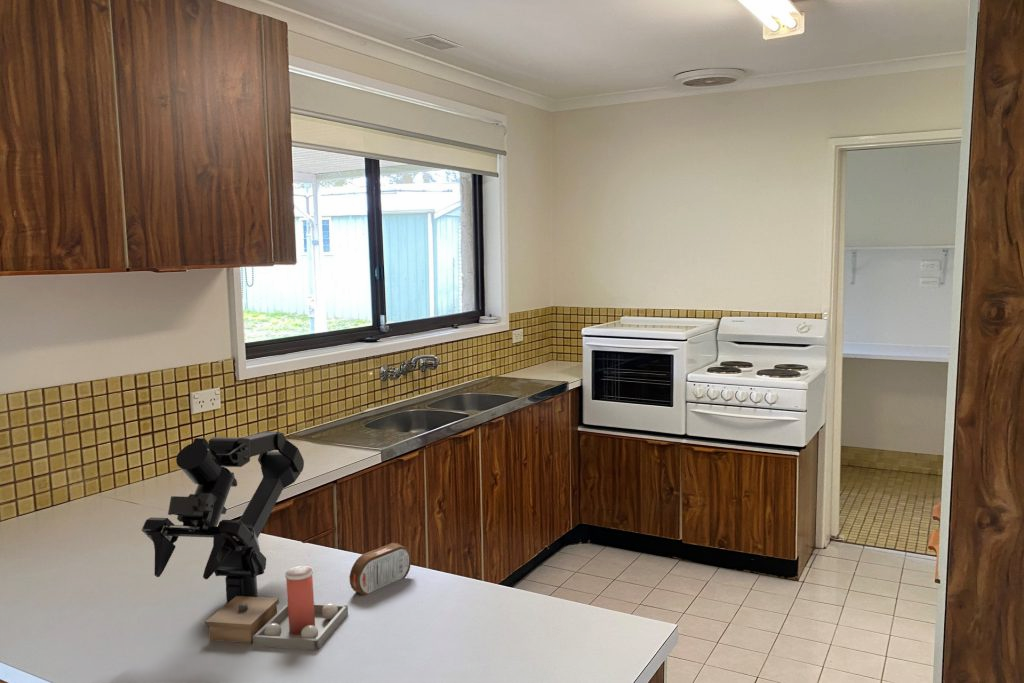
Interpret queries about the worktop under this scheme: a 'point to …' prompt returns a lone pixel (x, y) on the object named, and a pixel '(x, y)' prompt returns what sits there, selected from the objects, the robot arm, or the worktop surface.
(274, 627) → the shiny white sphere
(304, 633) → the white glossy ball
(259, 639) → the tray
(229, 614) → the lidded box
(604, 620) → the worktop surface
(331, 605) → the pebble
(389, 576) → the tin
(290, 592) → the scoop cup
